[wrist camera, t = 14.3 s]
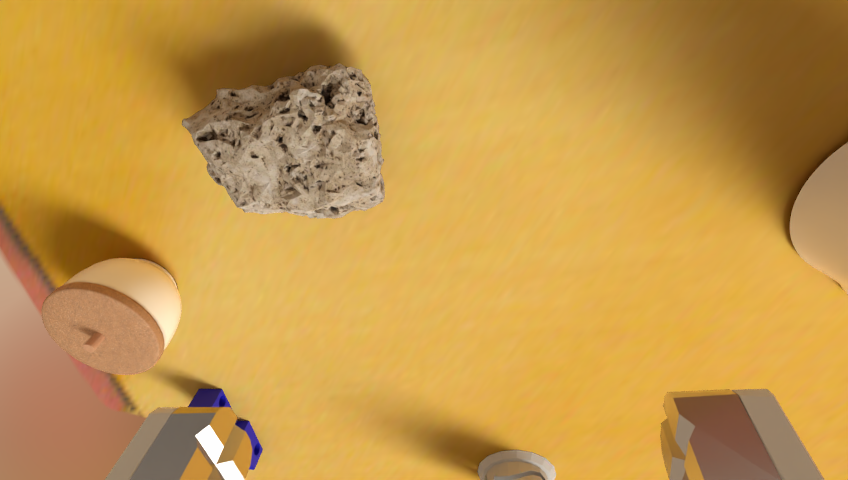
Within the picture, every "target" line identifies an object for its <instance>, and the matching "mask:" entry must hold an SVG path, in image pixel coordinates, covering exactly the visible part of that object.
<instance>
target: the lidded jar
mask: <svg viewBox="0 0 848 480" xmlns="http://www.w3.org/2000/svg"><path fill="white" fill-rule="evenodd" d="M180 317H181V299H180V295H179V292H178V288H177V284H176V282H175V280H174V278H173V277H172V276H171V274H170V273H169V272H168V271H167V270H166V269H164V268H163V267H162V266H160V265H158V264H156V263H155V262H152V261H150V260H146V259H141V258H134V259H132V258H115V259H108V260H105V261H101V262H98V263H95V264H93V265H92V266H90V267H88V268H86V269H84V270H82V271H80V272H79V273H77V274H76V275H74V276H73V277H72V278H71V279H69V280H68V281H67V282H66V283H65V284H64V285H62V286H61V287H59V288H57V289H56V290H55V291H53V292H52V293H51V294H50V295H49V296H48V297H47V298H46V299H45V301H44V302H43V306H42V320H43V323H44V325H45V328H46V330H47V331H48V333H49V335H50V336H51V337H52V339H53V340H54V341H55V342H56V343H57V344H58V345H59V346H60V347H61V348H62V349H63V350H64V351H66V352H67V353H68V354H70V355H71V356H72V357H74V358H75V359H77V360H79V361H81V362H82V363H84V364H86V365H88V366H90V367H93V368H95V369H98V370H101V371H105V372H108V373H113V374H121V375H132V374H138V373H142V372H145V371H147V370H149V369H150V368H152V367H153V366H154V365H155V364H156V363H157V362H158V360H159V359H160V357H161V355H162V353H163V351H164V350H165V348H166V347H167V345H168V344H169V342H170V341H171V339H172V337H173V335H174V333H175V331H176V329H177V327H178V324H179V321H180Z"/></svg>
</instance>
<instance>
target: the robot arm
mask: <svg viewBox="0 0 848 480" xmlns="http://www.w3.org/2000/svg"><path fill="white" fill-rule="evenodd" d="M790 236H791V240H792V243H793V245H794V248H795V249H796V251H797V253H798V254H799V255H800V257H801V258H802V259H803V260H804V261H806V262H807V263H808V264H809V265H811V266H812V267H814V268H816V269H817V270H819V271H821V272H823V273H824V274H826V275H827V276H829V277H831V278H832V279H834V280H835V281H836V282H838V283H839V284H840V285H841V287H842V289H843V290H844V291H845V292H846V293H847V294H848V142H847V143H846V144H845V145H843V146H842V147H840V148H839V149H838V150H837V151H835V152H834V153H833V154H832V155H831V156H829V157H828V158H827V159H826V160H825V161H824V162H823V163H822V164H821V165H820V166H819V167H818V168H817V169H816V170H815V171H814V173H813V174H812V175H811V176H810V177H809V179H808V180H807V181H806V183H805V184H804V186H803V187H802V189H801V191H800V193H799V194H798V197H797V199H796V201H795V203H794V206H793V209H792V213H791V218H790ZM663 407H664V410H665V413H666V416H667V419H666V420H665V421H663V422H662V423H661V434H660V437H661V448H662V454H663V459H664V463H665V467H666V470H667V473H668V477H669V480H824V478H823V477H822V475H821V473H820V471H819V470H818V468H817V466H816V465H815V463H814V461H813V460H812V458H811V456H810V455H809V453H808V451H807V450H806V448H805V446H804V445H803V443H802V441H801V440H800V438H799V436H798V435H797V433H796V431H795V430H794V428H793V426H792V425H791V423H790V421H789V420H788V418H787V416H786V415H785V413H784V411H783V410H782V408H781V406H780V405H779V403H778V401H777V400H776V398H775V396H774V395H773V394H772V393H771V392H770V391H769V390H767V389H745V390H729V389H725V390H703V391H681V392H667V394H666V395H665V398H664V405H663ZM237 418H238V417H237V416H236V415H235V413H234V412H233V410H232V409H231V407H165V408H157V409H156V410H154V411H153V412H151V413H150V414H149V415H148V417H147V418H146V420H145V421H144V423H143V424H142V426H141V427H140V429H139V430H138V432H137V433H136V435H135V436H134V437H133V439H132V441H131V442H130V443H129V445H128V446H127V448H126V449H125V451H124V452H123V454H122V455H121V457H120V458H119V460H118V461H117V463H116V464H115V466H114V467H113V468H112V470H111V472H110V473H109V474H108V476H107V477H106V479H105V480H245V478H246V475H247V473H248V470H249V468H250V465H251V457H252V446H251V441H250V438H249V436H248V435H247V433H246V431H244V430H242V429H241V428H239V427H238V426H236V425H235V423H236V420H237Z"/></svg>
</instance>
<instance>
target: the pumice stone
mask: <svg viewBox="0 0 848 480" xmlns="http://www.w3.org/2000/svg"><path fill="white" fill-rule="evenodd" d="M374 107H375V104H374V102H373V98H372V92H371V85H370V83H369V81H368V79H367V78H366V77H365V76H364V75H363V74H362V71H361V70H359V69H356V68H353V67H345V66H344V65H342V64H340V63H338V64H336V65H334V66H332V67H331V66H329V67H326V66H323V65H315V66H311V67H310V68H308V69H307V70H306V71H305V72H299V73H298V74H297V75H296V76H291V77H290V76H286V77H282V78H278V79H277V80H276V81H275V82H274V83H273V84H272V85H269V86H257V85H251V86H249V87H247V88H244V89H240V90H237V89H230V88H222V89H217V96H216V98H215V99H214V100H213V101H212V102H211V103H210V104H209V105H208V106H206V107H205V108H204V109H203V110H201V111H198V112H197V113H195V114H194V115H193V116H191V117H190V118H187V119H183V120H182V125H183V126H184V127H185V128H186V129H187V130H188V131H189V132H190V133H191V134H192V138H193V141H194V144H195V145H196V146H197V147H198V149H199V150H200V151H201V153H202V154H203V156H204V158H205V159H206V160H207V162H208V164H207V171H208V173H209V175H210V176H211V177H212V178H213V180H214V181H215V182H216V183H217V184H218V185H222V186H224V187H225V188H226V190H227V192H228V194H229V196H230V197H231V199H232V200H233V202H234V203H235V205H236V206H237V207H238V208H242V209H243V211H244V212H255V213H260V214H268V213H280V212H281V213H283V212H288V213H291V214H295V215H300V216H305V215H307V216H308V217H309V218H314V217H317V218H340V217H343V216H344V215H346V214H348V213H349V212H351V211H358V210H363V211H365V210H367V209H369V208H372V207H374V206H376V205H378V204H379V203H381V202H383V200H384V197H385V192H384V181H383V177H382V175H381V173H380V170H381V166H382V164H383V162H384V159H383V158H382V157H381V142H380V134H379V125H378V122H377V117H376V116H375V114H376V113H375V109H374Z"/></svg>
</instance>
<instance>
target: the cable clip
mask: <svg viewBox="0 0 848 480" xmlns="http://www.w3.org/2000/svg"><path fill="white" fill-rule="evenodd" d="M188 407H231V406H230V404H229V402H228V400H227V398H226V396H225V394H224V392H223V390H222V389H199V390H198V392H197V393H196V395H195V396H194V398H193V400H192V401H191V403H190V405H189V406H188ZM231 409H232V408H231ZM235 425H236V426H238V427H239V428H241V429H242V430H244V431H246V433H247V435H248V436H249V438H250V441H251V446H252V457H251V465H250V468H249V469H252V470H254V469H255V467H256V465H257V462H258V460H259V457H260V455H261V453H262V450H263V449H262V447H261V445H260V443H259V441H258V439H257V437H256V435H255V433H254V431H253V429H252V426H251V424H250V422H249V421H238V420H236V423H235Z"/></svg>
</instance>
